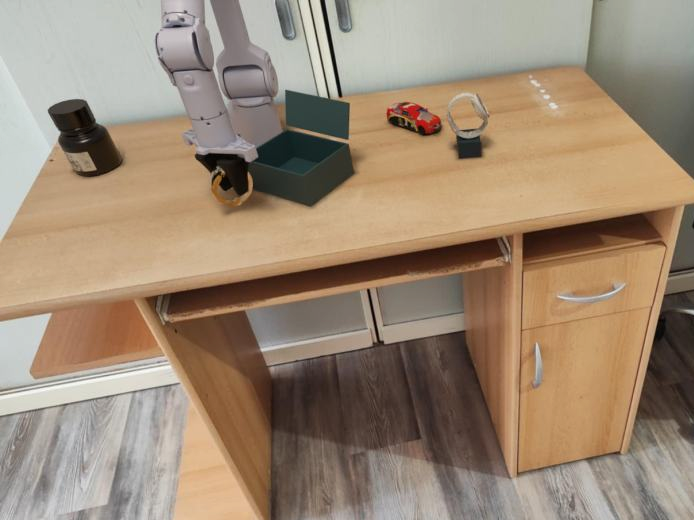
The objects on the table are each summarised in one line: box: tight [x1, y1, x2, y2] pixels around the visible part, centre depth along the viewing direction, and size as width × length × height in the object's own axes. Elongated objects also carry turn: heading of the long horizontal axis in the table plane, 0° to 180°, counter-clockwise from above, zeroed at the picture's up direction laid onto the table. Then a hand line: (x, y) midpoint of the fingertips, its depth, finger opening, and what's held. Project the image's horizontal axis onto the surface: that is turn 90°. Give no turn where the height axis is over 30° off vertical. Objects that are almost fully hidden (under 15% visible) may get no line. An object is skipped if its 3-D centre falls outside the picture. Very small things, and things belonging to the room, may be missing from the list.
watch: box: [446, 91, 490, 160], centre depth 109 cm, size 6×8×11 cm
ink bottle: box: [47, 98, 122, 177], centre depth 111 cm, size 10×9×12 cm
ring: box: [209, 165, 253, 206], centre depth 98 cm, size 7×3×8 cm, turn 127°
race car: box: [386, 101, 442, 136], centre depth 120 cm, size 13×5×4 cm, turn 50°
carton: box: [248, 128, 355, 207], centre depth 106 cm, size 13×15×6 cm
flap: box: [284, 89, 351, 141], centre depth 105 cm, size 6×15×1 cm
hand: (235, 190), depth 99 cm, fingers closed on ring, 3 cm apart
